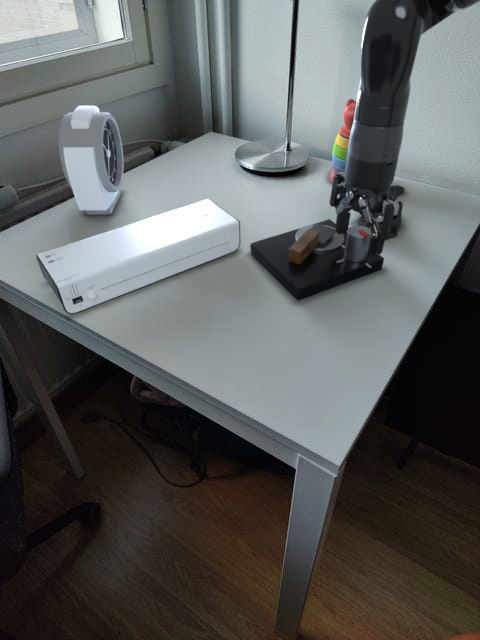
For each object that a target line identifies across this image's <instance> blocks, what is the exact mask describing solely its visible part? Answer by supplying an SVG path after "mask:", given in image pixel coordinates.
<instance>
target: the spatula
mask: <svg viewBox="0 0 480 640" xmlns="http://www.w3.org/2000/svg"><path fill="white" fill-rule="evenodd" d="M317 223H318V222H316V223H313V224H314V226H313V227H312V228H311V229H308V230H307V231H306V232H305V233H304V234H303V235H302V236H301V237H300V238H299V239H298V240H297V241H296V242H295V243H294V244H293V245H292V246H291V247H290V249H289V261H291V262H294V263H297V264H301V263H302V262H303V261H304V259H305V258H306V257H307V256H308V255H309V254H310V253H311V252H312V251H313V250H314V248H315V247H316V246H317V245H318V244H321V245H325V244H326V243H327V242H328V241H329V240H330V238H331V237H332V236H333V235H334V234H335V233H336V229H333V228H330V227H327V226H323V225H320V224H317Z"/></svg>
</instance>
